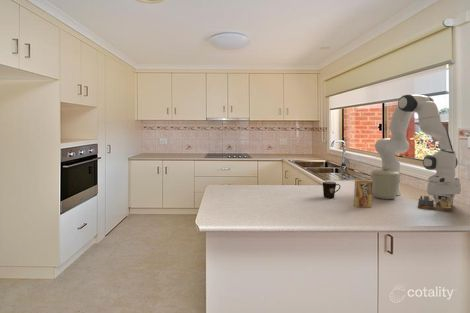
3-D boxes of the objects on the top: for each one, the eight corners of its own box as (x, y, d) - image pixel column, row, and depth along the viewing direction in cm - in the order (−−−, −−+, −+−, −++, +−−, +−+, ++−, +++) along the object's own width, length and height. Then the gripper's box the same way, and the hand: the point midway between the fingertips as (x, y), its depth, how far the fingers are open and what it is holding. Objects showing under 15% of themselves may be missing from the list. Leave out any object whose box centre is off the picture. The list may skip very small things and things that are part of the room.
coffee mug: (322, 198, 196) (322, 183, 195) (321, 195, 204) (322, 181, 204) (341, 199, 193) (341, 184, 192) (339, 196, 202) (340, 181, 201)
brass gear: (435, 206, 171) (436, 201, 171) (435, 203, 177) (435, 198, 177) (451, 208, 167) (452, 203, 167) (450, 205, 173) (450, 200, 173)
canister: (392, 195, 208) (394, 164, 206) (404, 201, 190) (406, 168, 188) (365, 194, 210) (367, 164, 208) (375, 200, 192) (376, 167, 190)
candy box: (368, 205, 178) (370, 180, 177) (371, 207, 174) (372, 181, 173) (353, 205, 179) (354, 179, 177) (355, 207, 174) (357, 180, 173)
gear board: (418, 207, 174) (418, 196, 174) (418, 204, 183) (418, 193, 182) (452, 212, 166) (453, 200, 165) (450, 208, 175) (451, 197, 174)
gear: (418, 204, 175) (419, 196, 175) (418, 202, 181) (418, 194, 181) (433, 206, 171) (434, 198, 171) (433, 203, 178) (433, 196, 177)
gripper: (454, 176, 176) (452, 200, 178) (425, 177, 171) (424, 201, 173) (465, 178, 170) (463, 202, 172) (435, 179, 165) (434, 204, 166)
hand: (443, 202), depth 172 cm, fingers open, 8 cm apart
